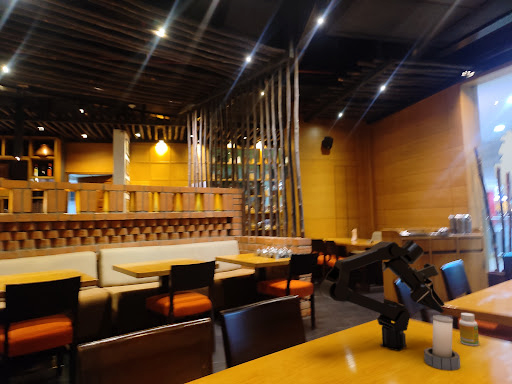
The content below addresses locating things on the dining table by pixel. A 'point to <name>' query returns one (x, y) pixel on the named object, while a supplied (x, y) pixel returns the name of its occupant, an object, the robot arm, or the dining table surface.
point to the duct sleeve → (442, 336)
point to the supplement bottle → (468, 330)
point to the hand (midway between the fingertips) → (443, 308)
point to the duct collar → (442, 360)
